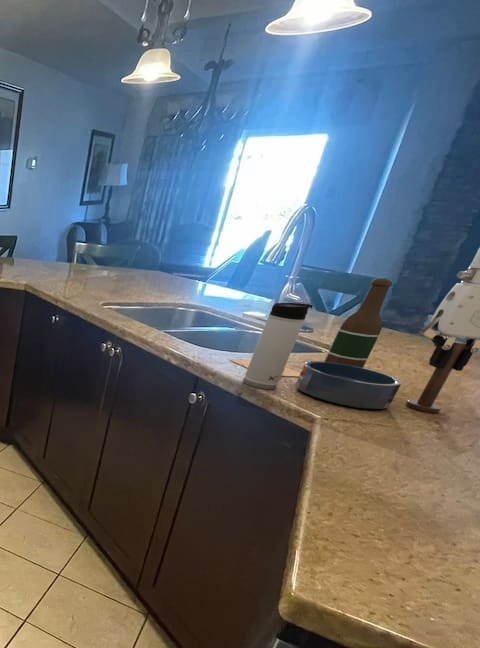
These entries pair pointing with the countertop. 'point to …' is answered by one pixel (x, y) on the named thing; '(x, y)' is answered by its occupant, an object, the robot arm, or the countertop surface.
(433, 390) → the wooden post with base
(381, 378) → the bowl
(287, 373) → the tan flat slab
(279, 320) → the travel mug
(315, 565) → the countertop surface
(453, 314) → the robot arm
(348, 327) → the beer bottle
